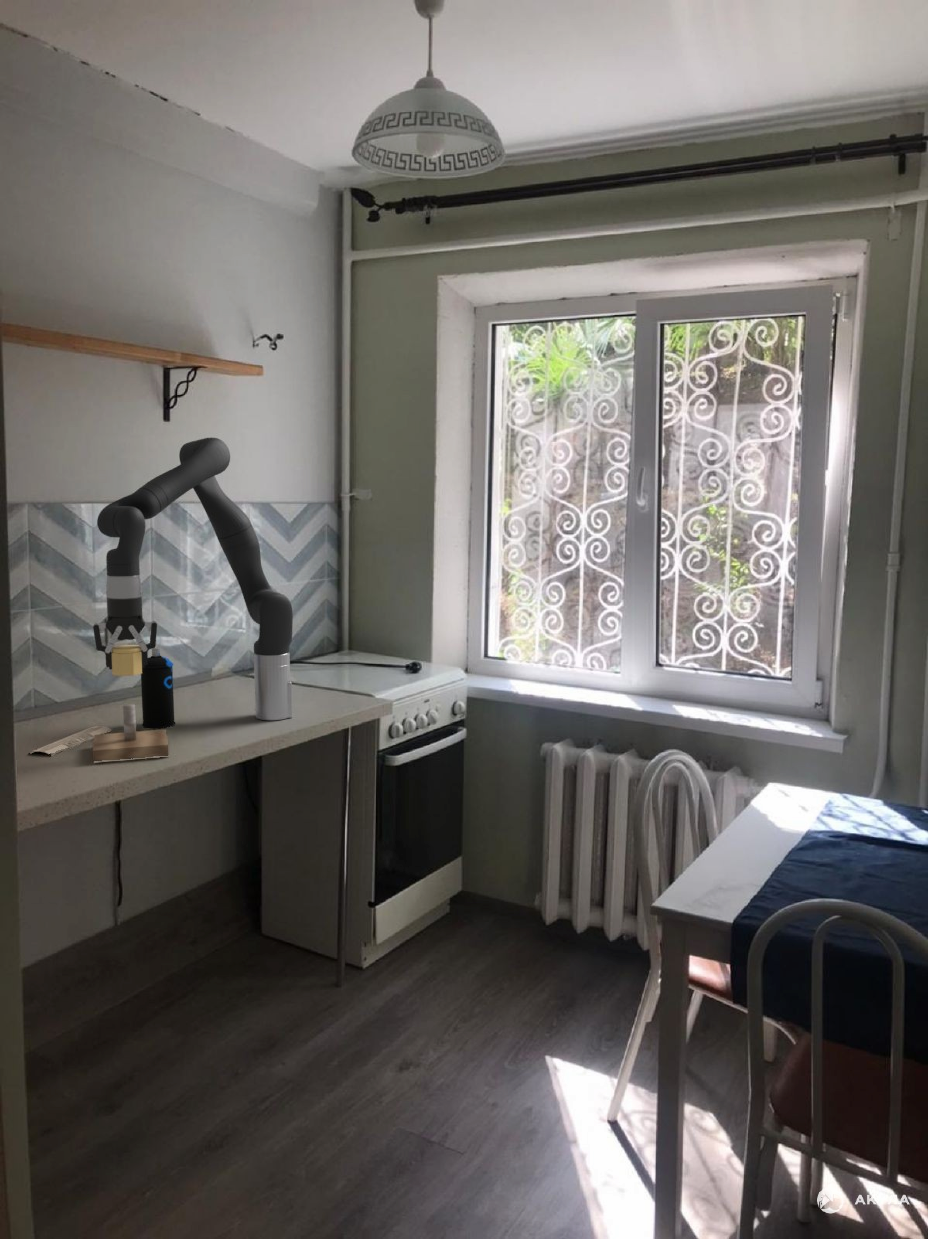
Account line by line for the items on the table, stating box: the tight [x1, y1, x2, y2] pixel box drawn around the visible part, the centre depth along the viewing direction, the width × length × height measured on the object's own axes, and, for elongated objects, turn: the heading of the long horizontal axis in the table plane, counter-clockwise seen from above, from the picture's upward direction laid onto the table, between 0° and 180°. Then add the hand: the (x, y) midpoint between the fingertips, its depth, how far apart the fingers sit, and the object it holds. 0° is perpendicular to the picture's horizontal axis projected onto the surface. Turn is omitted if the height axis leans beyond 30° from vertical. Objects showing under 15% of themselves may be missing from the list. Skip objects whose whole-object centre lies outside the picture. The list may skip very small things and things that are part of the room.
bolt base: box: [92, 704, 169, 761], centre depth 229 cm, size 16×14×11 cm
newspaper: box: [31, 725, 112, 755], centre depth 238 cm, size 24×7×2 cm, turn 166°
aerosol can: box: [140, 646, 177, 730], centre depth 253 cm, size 8×8×20 cm
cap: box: [111, 644, 142, 677], centre depth 226 cm, size 6×6×6 cm
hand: (127, 667), depth 227 cm, fingers closed on cap, 6 cm apart
